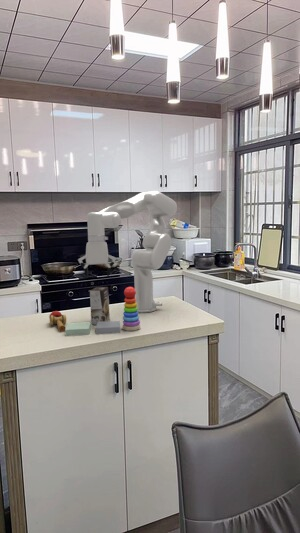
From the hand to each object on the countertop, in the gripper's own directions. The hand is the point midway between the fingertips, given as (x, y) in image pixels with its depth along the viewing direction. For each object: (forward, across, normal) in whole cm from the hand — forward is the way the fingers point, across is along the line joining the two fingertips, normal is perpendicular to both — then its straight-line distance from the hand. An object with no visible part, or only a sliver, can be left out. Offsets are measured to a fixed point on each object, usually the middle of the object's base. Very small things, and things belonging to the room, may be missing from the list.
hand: (97, 276), depth 174 cm
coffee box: (+22, -1, -1) cm, 22 cm away
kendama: (+22, +18, +3) cm, 29 cm away
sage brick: (+22, +8, +12) cm, 27 cm away
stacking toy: (+22, -15, +12) cm, 29 cm away
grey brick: (+22, -5, +12) cm, 26 cm away
